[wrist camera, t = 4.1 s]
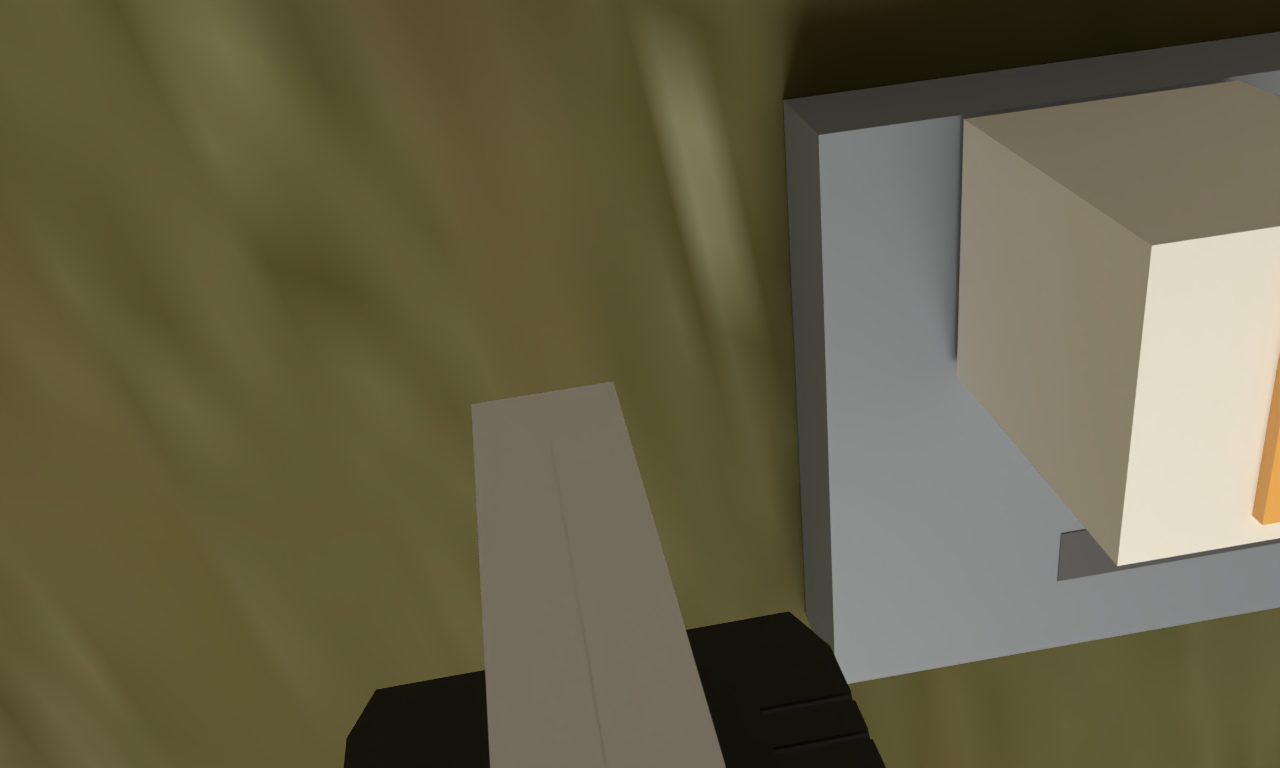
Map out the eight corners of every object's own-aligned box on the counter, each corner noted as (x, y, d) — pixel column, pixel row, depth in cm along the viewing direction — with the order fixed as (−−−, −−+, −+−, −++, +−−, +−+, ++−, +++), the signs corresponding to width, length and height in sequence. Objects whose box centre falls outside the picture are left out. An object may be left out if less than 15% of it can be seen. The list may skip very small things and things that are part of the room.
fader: (964, 119, 16) (1163, 252, 12) (1238, 80, 17) (1536, 195, 12) (957, 375, 18) (1125, 576, 14) (1203, 335, 19) (1450, 520, 14)
